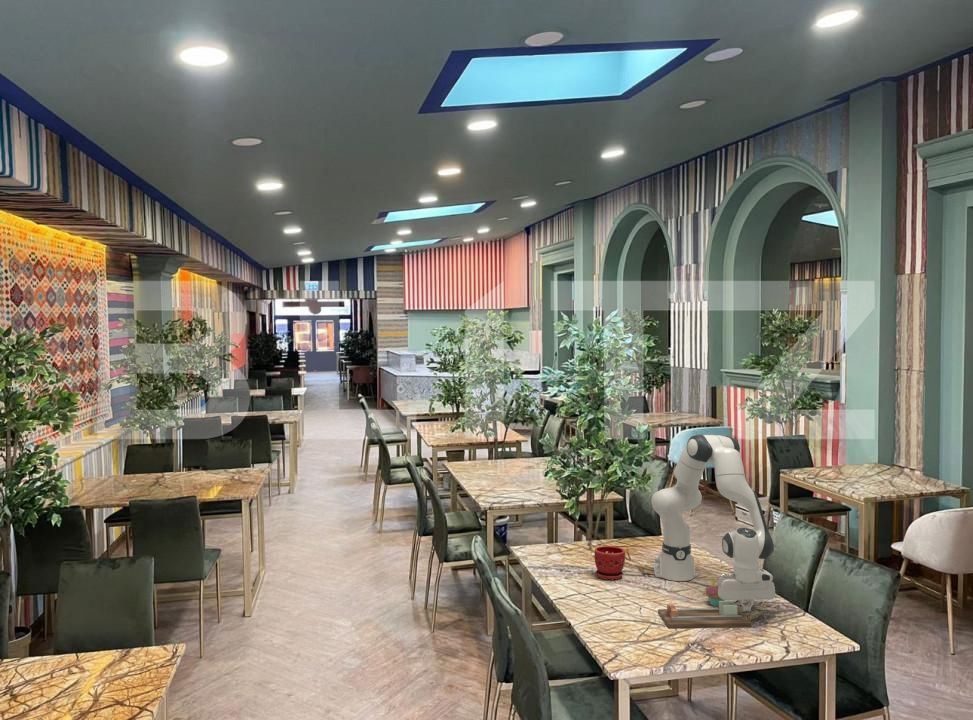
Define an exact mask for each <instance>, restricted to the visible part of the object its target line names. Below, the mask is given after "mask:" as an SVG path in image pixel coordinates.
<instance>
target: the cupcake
mask: <svg viewBox="0 0 973 720" xmlns="http://www.w3.org/2000/svg"><path fill="white" fill-rule="evenodd" d="M711 581H712V585H709V586H708V587H707V588H705V591H704V592H705V596H706V597H708V601H709V603H710V605H711V606H713V607H715V608H719V601H726V600H722V599H721V598H720V597H719V596H718V587H719V584H718V585H715V578H714V575H711Z"/></svg>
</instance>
